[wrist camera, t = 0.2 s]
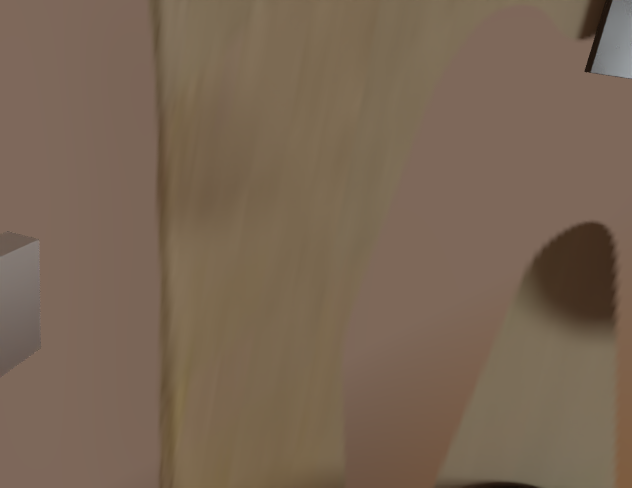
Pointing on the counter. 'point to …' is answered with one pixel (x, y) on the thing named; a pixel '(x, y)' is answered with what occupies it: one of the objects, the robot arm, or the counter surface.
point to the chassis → (613, 41)
